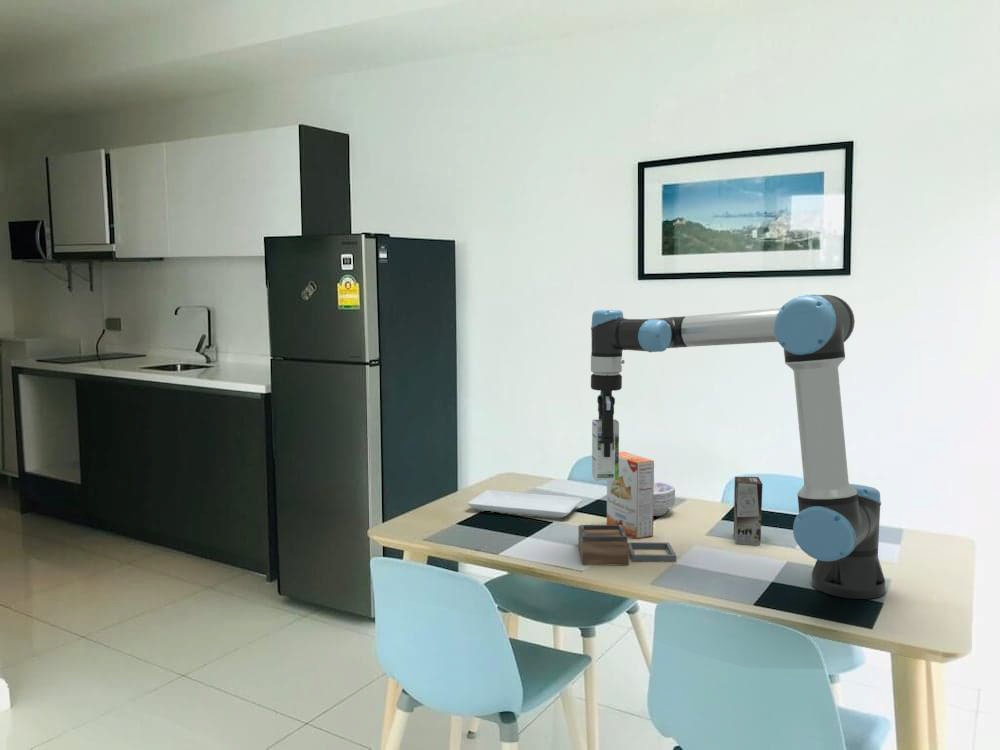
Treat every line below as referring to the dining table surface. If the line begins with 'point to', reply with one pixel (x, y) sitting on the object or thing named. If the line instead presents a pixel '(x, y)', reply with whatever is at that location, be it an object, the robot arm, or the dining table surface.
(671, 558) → the low socket
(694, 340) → the robot arm
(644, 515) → the cracker box
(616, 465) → the syrup box
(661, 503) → the paper bowls
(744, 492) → the coffee box
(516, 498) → the tray
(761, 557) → the dining table surface
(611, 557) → the raised socket stand
